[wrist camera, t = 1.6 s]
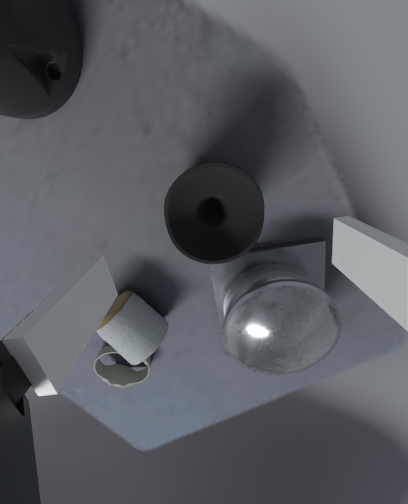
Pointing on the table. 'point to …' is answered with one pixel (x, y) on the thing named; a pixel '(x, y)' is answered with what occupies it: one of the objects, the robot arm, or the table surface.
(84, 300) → the robot arm
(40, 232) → the table surface
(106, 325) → the ceramic mug
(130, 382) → the beige oval ring
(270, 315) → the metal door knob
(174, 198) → the pen holder
